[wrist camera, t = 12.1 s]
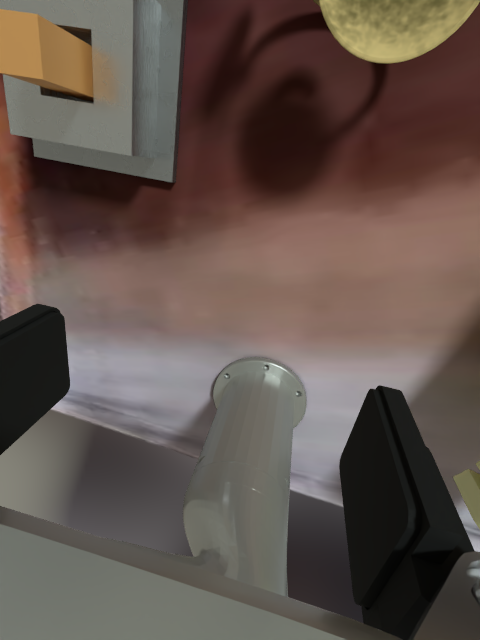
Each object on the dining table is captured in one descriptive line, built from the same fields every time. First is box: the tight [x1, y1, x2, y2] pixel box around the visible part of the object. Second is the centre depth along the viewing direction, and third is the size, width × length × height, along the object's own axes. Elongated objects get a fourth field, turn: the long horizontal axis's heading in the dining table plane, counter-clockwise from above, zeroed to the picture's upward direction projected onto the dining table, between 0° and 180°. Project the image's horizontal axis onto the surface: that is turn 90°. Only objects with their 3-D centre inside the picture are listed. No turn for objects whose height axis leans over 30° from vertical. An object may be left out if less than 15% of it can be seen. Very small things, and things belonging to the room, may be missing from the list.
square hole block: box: [0, 0, 188, 183], centre depth 30 cm, size 16×16×6 cm
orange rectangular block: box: [0, 9, 94, 102], centre depth 27 cm, size 4×4×10 cm
